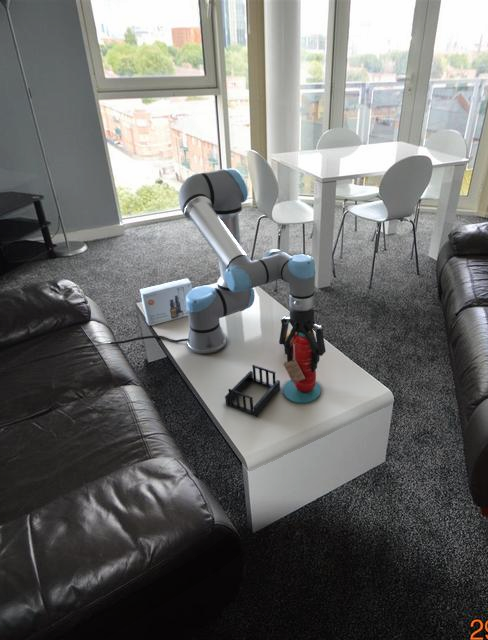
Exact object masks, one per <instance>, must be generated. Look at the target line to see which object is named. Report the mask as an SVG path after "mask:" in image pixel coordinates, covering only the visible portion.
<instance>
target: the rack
mask: <svg viewBox="0 0 488 640" xmlns="http://www.w3.org/2000/svg"><path fill="white" fill-rule="evenodd" d="M251 367H252V370H249V371H248V372H247V373H246V374H245V375H244V376H243V377H242V379H240V380H239V381H238V383H237V384H236V385H234V386H233V387H232V389H231V388H228V389H227V391H228V392H227V393H226V395H224V398H225V399H224V400H225V406H227V407H229V408H232V409H234V410H237V411H240V412H242V413H245V414H247V415H251V416H252V417H256V418H257V417H258V416H259V415H260V414H261V413H262V412H263V411H264V409H265V408H266V407H267V406H268V404H270V402H271V401H272V400H273V398H274V397H276V395H277V394H278V393H279V392H280V391H281V380H279V379H276V372H275V371H273V370H270V369H267V368H264V367H262V366H258V365H255V364H252V365H251ZM256 369H257V370H258V372H259V373H258V374H259V379H257V374H256ZM263 371H264V372H265V381H264V380H263ZM269 373H270V374H271V375H272V384H271V383H270V379H269V377H270V376H269ZM252 383H254V384H256V385H260V386H263V387H265V388H269V389H268V390H267V391H266V392H265V393H264V394H263V396H262V397H261V398H260V399H259V400H258V401H257V402H256V403H255V404H254V401H253V399H254V398H253V396H251V395H247V394H245V393H243V392H244V391H245V390H246V389H247V388H248V386H250V384H252ZM240 396H241V398H242V406H241V405H240ZM246 399H249V409H248V408H247V400H246ZM234 401H236V404H235V403H234Z"/></svg>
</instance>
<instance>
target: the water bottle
mask: <svg viewBox="0 0 488 640" xmlns="http://www.w3.org/2000/svg"><path fill="white" fill-rule="evenodd" d="M310 332H311V331H310ZM310 332H309V333H310ZM309 333H308V334H309ZM313 334H314V336H315V339H316V334H315V332H314V333H313ZM312 354H313V352H312V349H311V347H310V344H309V342H308V340H307V338H306V337H305V335H304V334H302V333H296V334H295V336H294V343H293V360H291V361H288V362H287V361H285V362H284V363H283V364H282V365H283V367H284V368H285V370H286V373H287V374H288V376H289V378H290V380H292V382H293V383H294V385H295V387H296V388H297V390H298V391H300V392H304V393H307V392H310V391H311V390H312V389H313V388H314V387H315V384H316V382H317V371H316V370H317V369H316V370H315V371H314V372H311V355H312Z"/></svg>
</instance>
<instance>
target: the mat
mask: <svg viewBox="0 0 488 640" xmlns="http://www.w3.org/2000/svg"><path fill="white" fill-rule="evenodd" d="M321 392H322V388H321V386H320V385H319V383H318V382H317V381H316V384H315V387H314V388H313V389H312V390H311V391H310V392H307V393H304V392H300V391H298V390H297V388H296V387H295V385H294V383H293V382H292V380H291V379H290V380H288V381H287V382H286V383H284V385H283V387H282V394H283V396H284V397H285V398H286V399H287V400H288V401H289V402H292V403H293V404H302V405H305V404H309V403H312V402H314V401H316V400H317V399H318V398H319V397H320V396H321Z"/></svg>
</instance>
